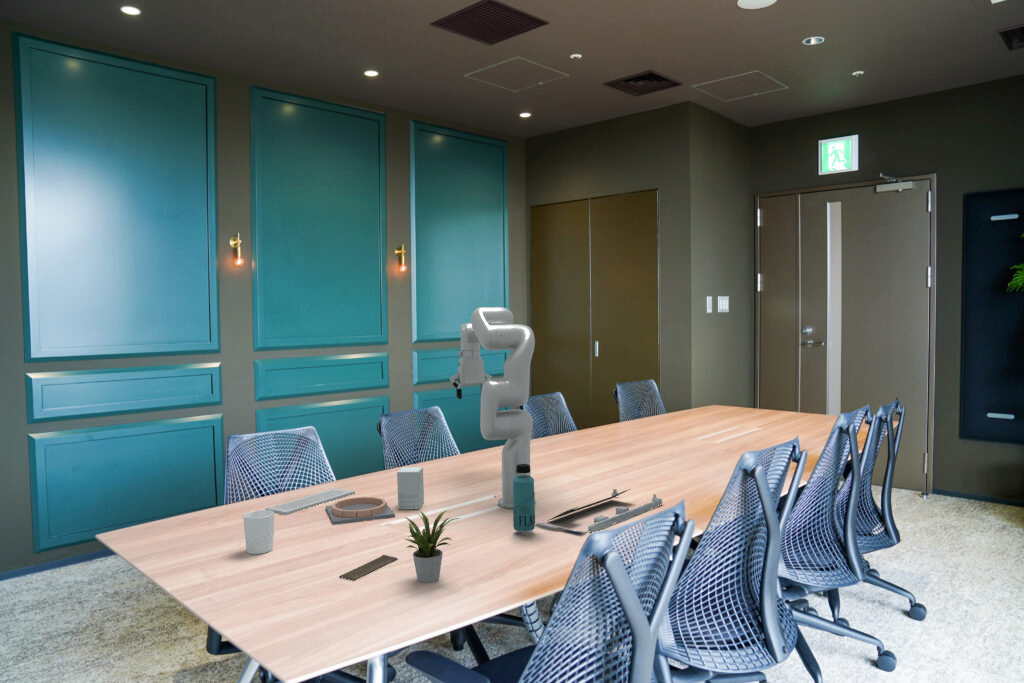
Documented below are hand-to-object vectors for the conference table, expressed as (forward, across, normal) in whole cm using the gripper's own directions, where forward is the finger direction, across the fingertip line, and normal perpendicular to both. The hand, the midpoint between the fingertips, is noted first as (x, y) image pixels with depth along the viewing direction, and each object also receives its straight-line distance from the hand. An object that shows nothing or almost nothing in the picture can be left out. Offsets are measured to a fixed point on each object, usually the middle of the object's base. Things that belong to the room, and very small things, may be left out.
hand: (471, 398), depth 268 cm
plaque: (+32, -62, -11) cm, 71 cm away
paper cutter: (+32, +18, -68) cm, 77 cm away
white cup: (+31, -81, -57) cm, 104 cm away
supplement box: (+31, -33, -32) cm, 56 cm away
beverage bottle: (+31, -10, -75) cm, 82 cm away
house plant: (+31, -44, -96) cm, 110 cm away
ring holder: (+31, -50, -32) cm, 67 cm away
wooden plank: (+32, -57, -83) cm, 105 cm away
